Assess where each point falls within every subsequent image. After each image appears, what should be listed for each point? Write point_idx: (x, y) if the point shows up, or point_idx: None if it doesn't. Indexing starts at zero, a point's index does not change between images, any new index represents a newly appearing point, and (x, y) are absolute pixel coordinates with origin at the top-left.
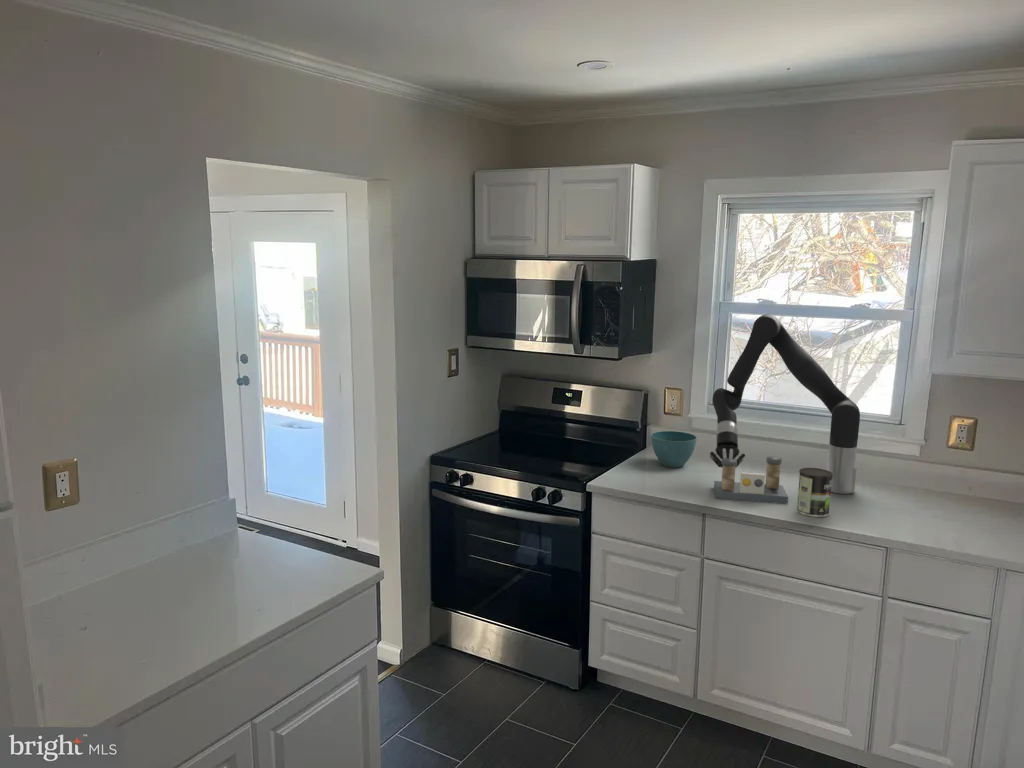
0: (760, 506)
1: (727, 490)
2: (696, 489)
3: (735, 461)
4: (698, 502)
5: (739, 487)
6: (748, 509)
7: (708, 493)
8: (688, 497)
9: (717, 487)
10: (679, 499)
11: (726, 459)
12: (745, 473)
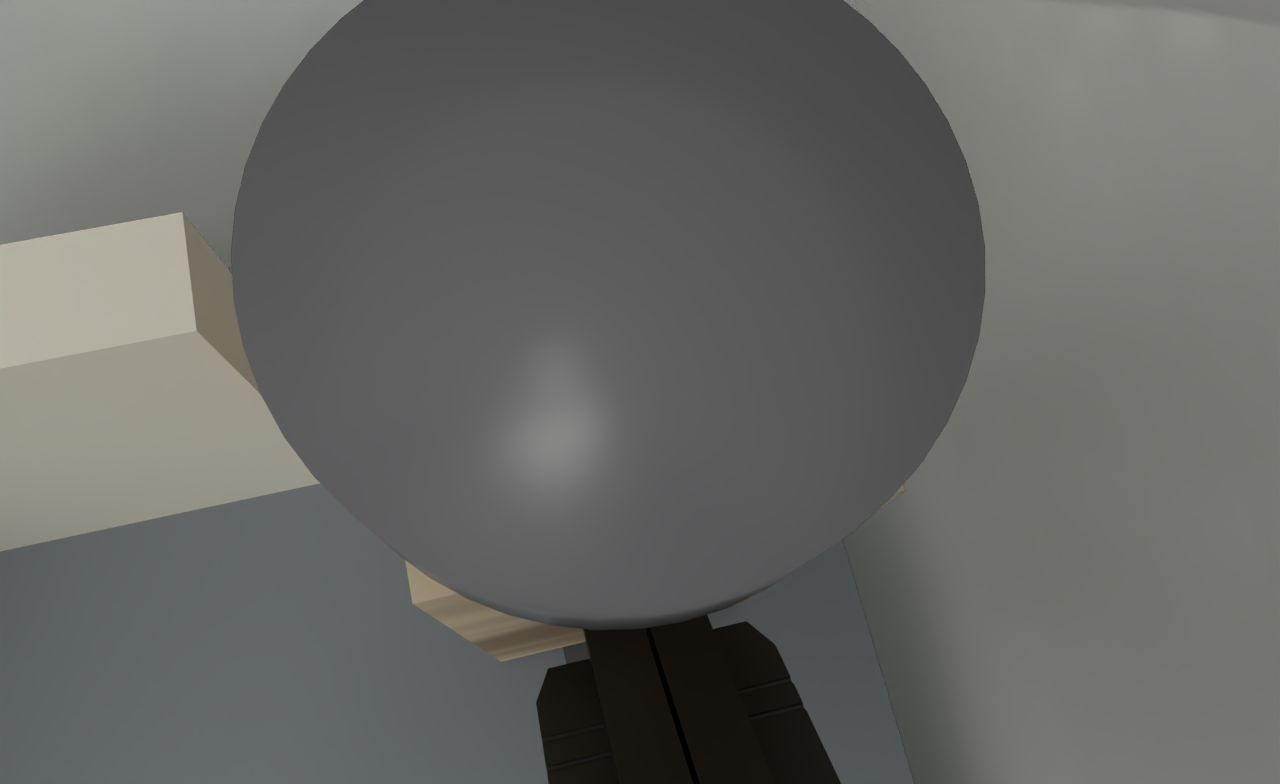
0: (3, 230)
1: None
2: (1191, 684)
3: (299, 113)
4: (943, 38)
5: (364, 771)
6: (199, 28)
7: (929, 540)
8: (1148, 192)
9: None
10: (1225, 56)
11: (767, 274)
12: (41, 274)
